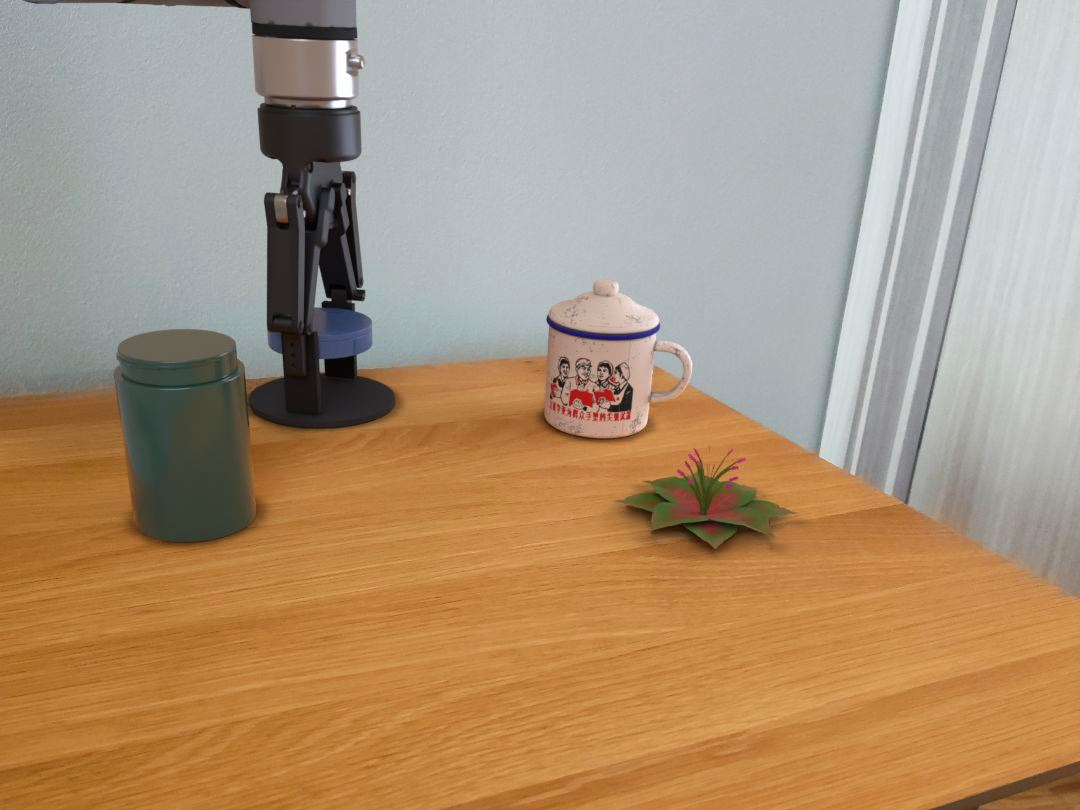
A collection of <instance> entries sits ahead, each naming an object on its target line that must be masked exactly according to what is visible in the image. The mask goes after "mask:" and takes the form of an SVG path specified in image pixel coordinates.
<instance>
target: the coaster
mask: <svg viewBox="0 0 1080 810" xmlns="http://www.w3.org/2000/svg"><path fill="white" fill-rule="evenodd" d="M320 386H321V406H322V411H321V412H320V413H319V414H310V413H301V412H291V411H286V402H285V387H284V377H280V378H276V379H273V380H269V381H267V382H264V383H263V384H261V385H258V386H256V387H255V388H254V389H253V390H252V391H251V392H250V394H249V397H248V406H249V409H250V411H252V413H253V414H254V415H256V416H257V417H259V418H261V419H263V420H265V421H268V422H271V423H274V424H278V425H283V426H287V427H288V426H289V427H296V428H305V429H330V428H331V429H332V428H342V427H349V426H356V425H360V424H366V423H369V422H371V421H374V420H377V419H379V418H381V417H384V416H385V415H387V414H389V413H390V412H391V411H392V410H393V408H394V407H395V404H396V395H395V392H394V390H393V389H391V387H390V386H389V385H387V384H385V383H383V382H380V381H379V380H376V379H372V378H369V377H366V376H365V377H364V376H360V375H357V377H356V378H355V379H347V378H337V377H327V376H325V372H320Z"/></svg>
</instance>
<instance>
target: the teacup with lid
mask: <svg viewBox="0 0 1080 810" xmlns="http://www.w3.org/2000/svg"><path fill="white" fill-rule="evenodd" d="M592 289H593V290H591V291H586V292H583V293H581V294H579V295H578V296H576V297H574V298H572V299H567V300H562V301H559V302H557V303H556V304H554V305H552V306H551V307H550V309H549V310H548V312H547V315H546V324H547V325H548V334H547V335H548V339H547V355H546V372H545V390H544V391H545V392H544V393H545V395H544V409H543V410H544V412H543V414H544V418H545V420H546V422H547V423H548V424H549V425H550V426H552V427H553V428H554V429H556V430H559V432H560V431H561V432H563V433H566V434H568V435H569V434H570V435H573V436H577V437H583V438H591V439H617V438H618V439H619V438H624V437H628V436H632V435H634V434H637V433H639V432H640V431H642V430H644V428H646V426H647V424H648V420H649V411H650V403H667V402H670V401H673V400H674V399H676V398H677V397H679V396H680V395H681V394H682V393H683V392H684V390H685V389H686V388H687V386H688V385H689V382H690V380H691V377H692V373H693V361H692V358H691V355H690V353H689V352H688V351H687V349H685V347H683V346H682V345H680V344H678V343H675V342H672V341H666V340H657V333H658V332H659V331H660V329H661V323H660V319H659V316H658V314H657V313H656V312H655V310H653V309H651V308H649V307H648V306H645V305H643V304H640V303H637V302H635V300H633V299H632V298H631V297H630V296H628V295H626V294H624V293H621V292H619V289H620V287H619V283H618V282H617V281H616V280H614V279H609V278H599V279H596V280H595V281H594V282H593V286H592ZM656 352H662V353H668V354H672V355H674V356H675V357H677V358H678V359H679V360H680V362H681V363H682V368H683V370H682V371H683V372H682V376H681V378H680V380H679V382H678V383H677V384H676V385H675V386H674V387H672V388H671V389H669V390H665V391H652V382H653V373H654V372H653V371H654V362H655V353H656Z"/></svg>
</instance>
